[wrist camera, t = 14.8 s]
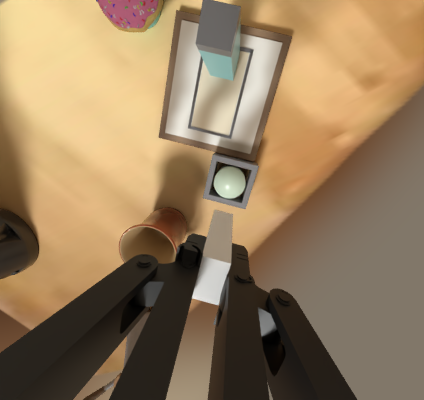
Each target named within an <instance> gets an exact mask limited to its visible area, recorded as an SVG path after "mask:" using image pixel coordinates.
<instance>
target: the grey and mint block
mask: <svg viewBox="0 0 424 400" xmlns="http://www.w3.org/2000/svg"><path fill="white" fill-rule="evenodd" d="M240 24H241V7H240V6H236V5H231V4H227V3H222V2H218V1H213V0H203V2H202V8H201V14H200V20H199V26H198V31H197V37H196V43H195V44H196V46H197V48H198V50H199V52H200V54H201V57H202V59H203V61H204V63H205V65H206V67H207V69H208V71H209V74H210V75H211V76H215V77H219V78H223V79H228V80H232V81H233V80H234V76H235V72H236V67H237V63H238V59H239V55H240Z"/></svg>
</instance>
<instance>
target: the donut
mask: <svg viewBox="0 0 424 400" xmlns="http://www.w3.org/2000/svg"><path fill="white" fill-rule="evenodd" d="M96 1H98V4H99V6H100V8H101V9H102V11H103V13H104V14H105V15H106V16H107V18H108V19H109V20H110V22H111V23H112V24H113V25H114V26H115V27H116V28H118V29H119V30H122V31H126V32H145V31H146V30H147V29H149V28H151V27H153V26H154V25H155V24H156V23H157V21H158V19H159V17H160V12H161V9H162V6H163V2H164V0H96Z"/></svg>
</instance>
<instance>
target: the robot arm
mask: <svg viewBox="0 0 424 400" xmlns="http://www.w3.org/2000/svg"><path fill="white" fill-rule="evenodd" d="M232 223H233V214H230V213H226V212H223V211H219V210H214V213H213V217H212V221H211V224H210V228H209V232H208V235H207V237H205V236H201V235H197V234H194V233H193V234H191V235H189V236H188V238H187V240H186V242H185V243H182V244H180V245H179V246H178V247H177V252H176V257H175V261H174V262H172V263H166V264H162V263H158V260H157V259H156V258H155V257H154V256H152V255H149V254H140V255H136V256H134V257H132V258H131V259H130V260H128V261H127V262H126V263H124V264H123V265H121V266H120V267H119V268H117V269H116V270H114V271H113V272H112V273H110V274H109V275H107V276H106V277H105V278H103V279H102V280H101V281H99V282H98V283H96V284H95V285H94V286H92V287H91V288H89V289H88V290H87V291H85V292H84V293H83V294H81V295H80V296H78V297H77V298H76V299H74V300H73V301H71V302H70V303H69V304H67V305H66V306H65V307H63V308H62V309H60V310H59V311H58V312H56V313H55V314H53V315H52V316H51V317H49V318H48V319H47V320H45V321H44V322H42V323H41V324H40V325H38V326H37V327H35V328H34V329H33V330H31V331H30V332H28V333H27V334H26V335H24V336H23V337H22V338H20V339H19V340H17V341H16V342H15V343H13V344H12V345H10V346H9V347H8V348H6V349H5V350H4V351H2V352H1V353H0V400H73V399H74V398H75V397H76V395H77V394H78V393H79V392H80V391H81V389H82V388H83V387H84V386H85V385H86V383H87V382H88V381H89V380H90V379H91V378H92V376H93V375H94V374H95V373H96V372H97V370H98V369H99V368H100V367H101V366H102V365H103V363H104V362H105V361H106V360H107V359H108V357H109V356H110V355H111V354H112V353H113V351H114V350H115V349H116V348H117V347H118V346H119V344H120V343H121V342H122V341H123V340H124V338H125V337H126V336H127V335H128V334H129V333H130V331H131V330H132V329H133V328H134V327H135V325H136V324H137V323H138V322H139V321H140V319H141V318H142V317H143V316H144V315H145V314H146V312H147V311H148V310H149V308H150V307H151V306H153V308H152V310H151V312H150V314H149V316H148V318H147V320H146V322H145V325H144V327H143V329H142V331H141V333H140V335H139V337H138V339H137V341H136V344H135V346H134V348H133V350H132V352H131V354H130V356H129V358H128V361H127V363H126V365H125V367H124V369H123V371H122V373H121V375H120V377H119V380H118V382H117V384H116V386H115V388H114V390H113V392H112V395H111V396H110V399H109V400H165V399H166V396H167V392H168V388H169V384H170V380H171V376H172V373H173V369H174V365H175V361H176V357H177V353H178V350H179V345H180V342H181V338H182V334H183V330H184V326H185V323H186V318H187V315H188V311H189V307H190V303H191V300H192V298H194V299H197V300H201V301H205V302H209V303H212V304H216V305H218V304H219V301H220V305H219V309H218V312H217V315H216V318H215V321H214V325H216V327H215V337H214V346H213V356H212V365H211V374H210V383H209V393H208V400H269V392H268V385H269V388H270V391H271V394H272V397H273V400H357V398H356V397H355V395H354V394H353V392H352V390H351V389H350V387H349V386H348V384H347V382H346V381H345V379H344V377H343V376H342V375H341V373H340V371H339V370H338V368H337V366H336V365H335V363H334V361H333V360H332V358H331V356H330V355H329V353H328V352H327V350H326V348H325V347H324V345H323V344H322V342H321V340H320V339H319V337H318V335H317V334H316V332H315V331H314V329H313V327H312V326H311V324H310V323H309V321H308V320H307V318H306V316H305V314H304V313H303V311H302V310H301V308H300V306H299V305H298V303H297V301H296V300H295V299H294V298H293V296H292V295H290V294H289V293H288V292H286V291H284V290H281V289H272V290H271V291H270V293H268V292H266V291H264V290H262V289H261V288H259V287H257V286H256V285H255V282H254V279H253V277H252V276H251V275H250V271H249V261H248V251H247V250H246V248H245V247H244V246H241V245H237V244H234V243H232ZM37 256H38V244H37V241H36V238H35V236H34V234H33V232H32V231H31V229H30V228H29V227H28V225H27V224H26V223H25V222H24V221H23V220H22V219H20V218H19V217H18V216H16V215H15V214H13V213H11V212H9V211H7V210H4V209H1V208H0V279H2V278H5V277H8V276H11V275H15V274H18V273H20V272H22V271H23V270H25V269H27V268H28V267H30V266H31V265H33V264H34V262H35V261H36V259H37ZM267 382H268V384H267Z"/></svg>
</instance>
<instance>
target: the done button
mask: <svg viewBox="0 0 424 400" xmlns="http://www.w3.org/2000/svg"><path fill="white" fill-rule="evenodd" d="M245 184H246V182H245V176H244V172H243V171H242V169H241V168H240V167H237V166H233V165H229V164H228V165H225V166H223V167H221V168H220V169H219V171H218V172H217V174H216V176H215V179H214V187H215V190H216V192H217V193H218V194H219V195H220V196H222V197H224V198H235V197H237V196H239V195H240V194H241V193H242V192H243V191H244V189H245Z"/></svg>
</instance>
